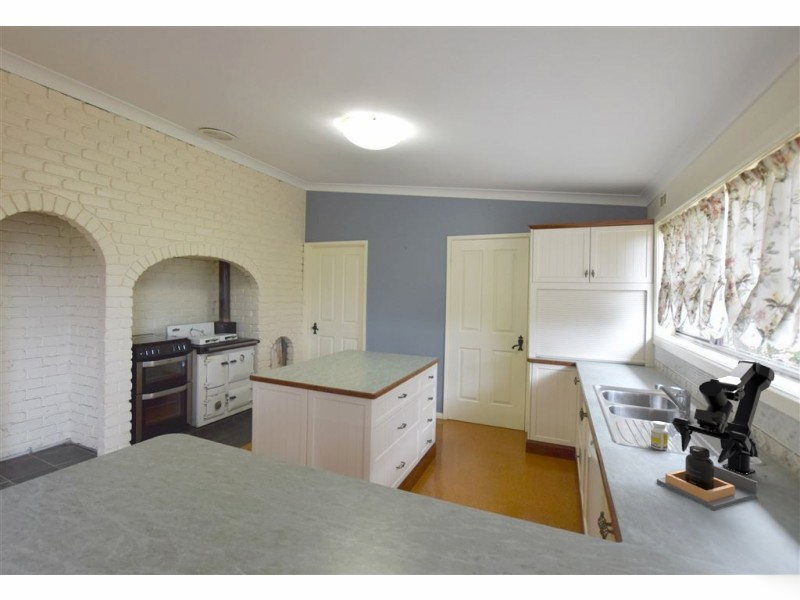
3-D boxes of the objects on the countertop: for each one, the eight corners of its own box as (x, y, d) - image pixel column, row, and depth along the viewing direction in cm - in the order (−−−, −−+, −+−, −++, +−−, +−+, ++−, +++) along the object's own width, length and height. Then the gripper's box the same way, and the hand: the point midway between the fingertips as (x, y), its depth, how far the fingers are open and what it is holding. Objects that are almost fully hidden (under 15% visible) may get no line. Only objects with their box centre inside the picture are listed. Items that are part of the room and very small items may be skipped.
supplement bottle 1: (664, 445, 148) (665, 421, 148) (669, 451, 143) (670, 425, 143) (648, 443, 150) (649, 419, 150) (653, 449, 145) (653, 424, 145)
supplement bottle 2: (693, 480, 119) (694, 442, 119) (718, 490, 113) (719, 451, 112) (679, 484, 116) (680, 446, 116) (705, 495, 110) (706, 455, 110)
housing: (698, 472, 126) (698, 459, 126) (757, 497, 111) (757, 481, 111) (656, 482, 119) (657, 468, 119) (713, 510, 104) (713, 493, 104)
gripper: (675, 392, 125) (657, 431, 119) (748, 407, 108) (731, 453, 103) (686, 412, 129) (669, 450, 123) (758, 429, 113) (742, 474, 107)
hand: (700, 456), depth 114 cm, fingers open, 9 cm apart
